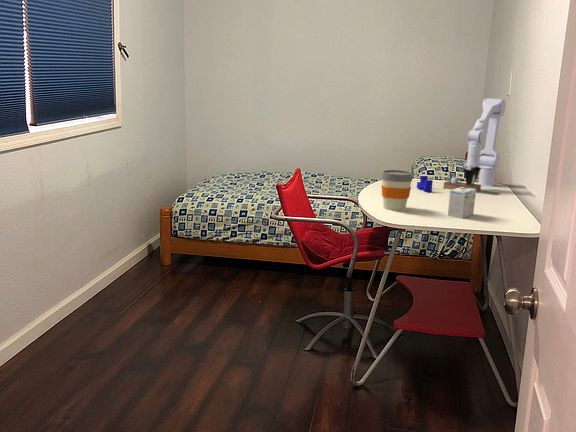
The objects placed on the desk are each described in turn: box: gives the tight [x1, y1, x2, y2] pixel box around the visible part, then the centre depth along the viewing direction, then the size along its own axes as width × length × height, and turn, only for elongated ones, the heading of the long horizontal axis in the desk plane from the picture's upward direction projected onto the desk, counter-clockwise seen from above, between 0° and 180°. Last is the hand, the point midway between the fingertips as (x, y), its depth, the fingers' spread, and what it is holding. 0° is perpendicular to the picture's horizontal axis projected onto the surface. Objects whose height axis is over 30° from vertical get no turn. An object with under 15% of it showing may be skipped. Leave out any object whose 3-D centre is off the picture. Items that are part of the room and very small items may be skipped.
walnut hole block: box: [443, 180, 482, 193], centre depth 319 cm, size 8×16×3 cm, turn 59°
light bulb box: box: [447, 187, 477, 219], centre depth 261 cm, size 11×7×11 cm, turn 141°
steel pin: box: [468, 175, 476, 186], centre depth 316 cm, size 3×3×8 cm
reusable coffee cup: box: [381, 169, 413, 212], centre depth 268 cm, size 13×13×15 cm
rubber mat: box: [480, 190, 502, 196], centre depth 312 cm, size 8×8×1 cm
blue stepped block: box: [416, 175, 434, 194], centre depth 313 cm, size 12×4×6 cm, turn 1°
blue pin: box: [450, 176, 459, 184], centre depth 320 cm, size 3×3×6 cm
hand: (470, 182), depth 316 cm, fingers open, 7 cm apart
